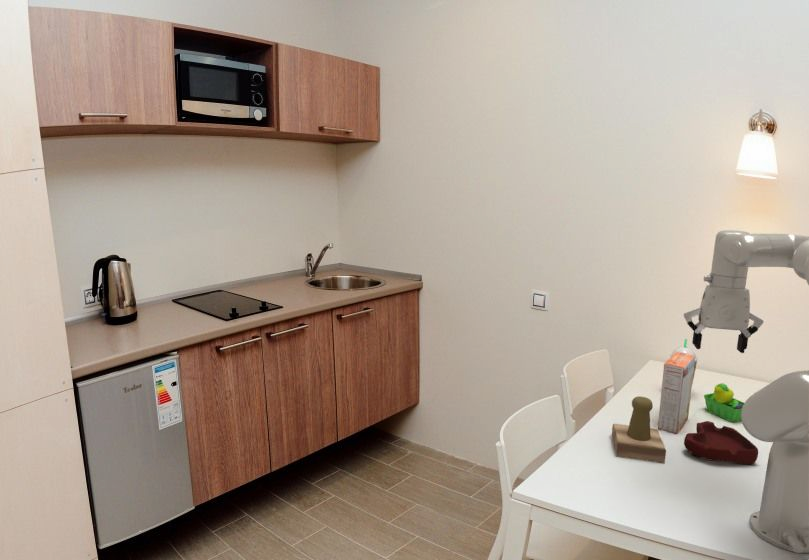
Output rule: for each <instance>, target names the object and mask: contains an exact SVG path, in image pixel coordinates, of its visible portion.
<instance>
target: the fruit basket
mask: <svg viewBox="0 0 809 560" xmlns="http://www.w3.org/2000/svg"><path fill="white" fill-rule="evenodd" d="M713 391H714V392H713V393H708V394H707V393H706V394H704V395H703V397H704V400H705V401H704V402H705V407H706V411H707V412H709V413H711V412H712V414H714V415H715V416H717V415H718V416H717V417H720V418H721V419H724V420H726V421H728V422H730V421H731V422H730V423H733V422H734V421H736V422H740V421H742V420H741V411H742V408H743V405H744V403H745V401H744V402H743V401H741V400H739V399H736V398H734V395H735V393H734V391H733V390H732V389H731V388H730V387H728V386H727V384H726V383H723V382H721V383H718V384H716V385H715V386H714V390H713ZM739 420H740V421H739Z"/></svg>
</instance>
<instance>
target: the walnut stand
mask: <svg viewBox="0 0 809 560" xmlns="http://www.w3.org/2000/svg"><path fill="white" fill-rule="evenodd" d="M628 427H629V424H621V423H613V424H612V427H611V440H612V444H613V448H614V452H616V453H615V456H616V457H618V456H620V457H619V458H625V457H626V459H632V458H633V460H640V461H647V460H648V461H649V462H654V461H656V462H655V463H661V462H663V463H664V464H665V462H666V454H667V449H666V447H665V444H664V441H663V439H662V437H661V434H660V432H659V429H658V428H651V427H650V434H651V439H650V440H648V441H638V440H635V439H632V438H630V437H629V436H628V435H627V431H628ZM648 461H647V462H648Z"/></svg>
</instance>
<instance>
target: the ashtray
mask: <svg viewBox="0 0 809 560" xmlns="http://www.w3.org/2000/svg"><path fill="white" fill-rule="evenodd" d="M695 428H696V432H688V433H687V434H686V435H685V436H684V438H683V440H684V441H683V444H684V447H685V449H686V451H687V452H688V453H690V454H691V456H693V457H695V458H697V459H698V458H700V459H701V458H702V459H705V460H709V461H713V462H725V463H733V464H740V465H741V464H742V465H753V464H754V463H756V461H757V460H758V457H759V449H758V447H757V446H756V445H755V444H754V443H753V442H751V440H749V439H748V438H747V437H745V436H744V435H743V434H742V433H740V432H739V431H738V430H736V429H735V428H733V427H729V426H725V425H723V426H722V427H717V426H716V425H715V423H714V422H713V421H709V420H707V421H702V422H697V423H696V427H695Z"/></svg>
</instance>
